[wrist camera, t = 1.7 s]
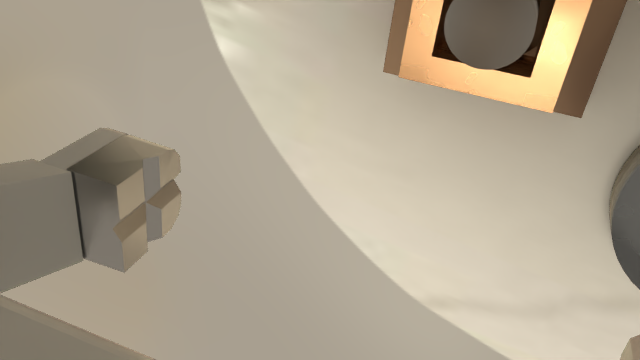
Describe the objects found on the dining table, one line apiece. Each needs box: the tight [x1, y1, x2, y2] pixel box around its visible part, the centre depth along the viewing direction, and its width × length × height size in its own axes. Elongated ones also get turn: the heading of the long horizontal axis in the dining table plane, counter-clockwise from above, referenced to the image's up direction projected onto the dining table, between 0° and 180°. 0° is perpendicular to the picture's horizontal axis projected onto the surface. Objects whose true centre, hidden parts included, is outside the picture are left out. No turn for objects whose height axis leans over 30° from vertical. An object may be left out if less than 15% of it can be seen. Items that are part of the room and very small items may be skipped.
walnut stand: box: [383, 0, 627, 118], centre depth 24 cm, size 10×10×8 cm
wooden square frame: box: [399, 0, 592, 113], centre depth 23 cm, size 6×6×3 cm
